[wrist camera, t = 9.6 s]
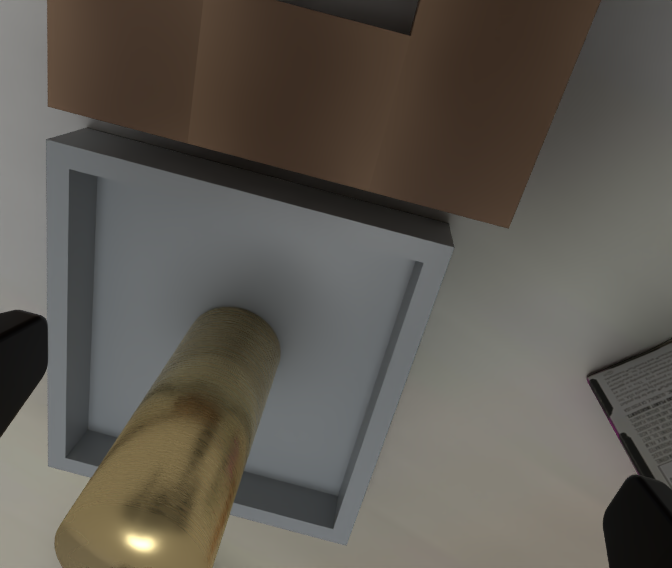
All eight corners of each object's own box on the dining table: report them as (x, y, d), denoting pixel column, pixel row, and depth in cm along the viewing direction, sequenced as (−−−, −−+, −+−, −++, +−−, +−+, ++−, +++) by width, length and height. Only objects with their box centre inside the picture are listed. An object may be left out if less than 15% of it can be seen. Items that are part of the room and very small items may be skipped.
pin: (288, 319, 22) (217, 527, 13) (272, 395, 23) (200, 625, 14) (192, 296, 22) (53, 488, 13) (183, 375, 23) (55, 592, 14)
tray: (448, 223, 20) (454, 247, 18) (351, 502, 26) (346, 545, 24) (86, 127, 20) (46, 139, 18) (78, 429, 26) (48, 466, 24)
